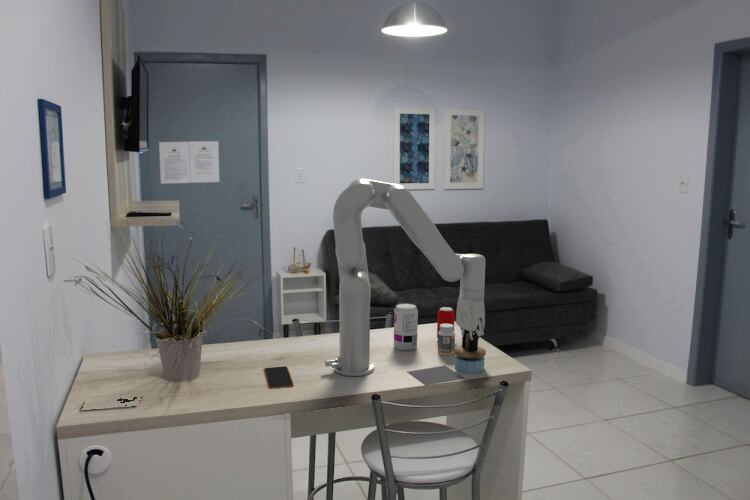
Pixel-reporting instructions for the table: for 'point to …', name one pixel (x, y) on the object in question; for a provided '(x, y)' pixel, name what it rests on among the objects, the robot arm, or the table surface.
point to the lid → (465, 353)
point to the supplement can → (405, 326)
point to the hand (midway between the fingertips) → (469, 349)
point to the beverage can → (445, 317)
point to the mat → (435, 375)
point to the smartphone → (278, 377)
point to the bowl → (469, 364)
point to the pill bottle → (446, 339)
